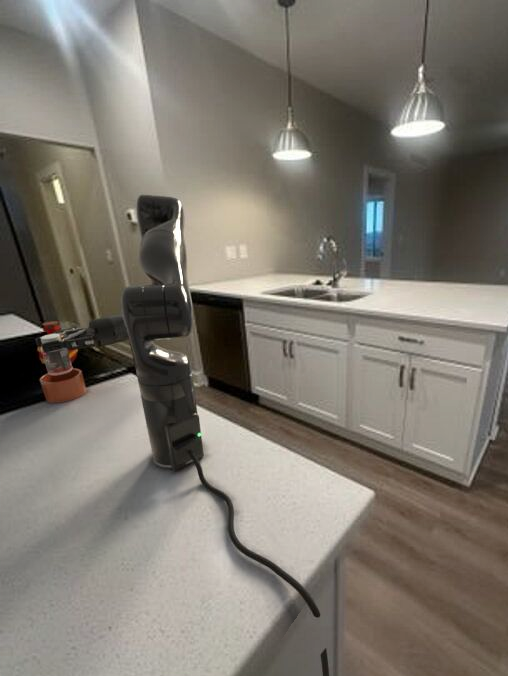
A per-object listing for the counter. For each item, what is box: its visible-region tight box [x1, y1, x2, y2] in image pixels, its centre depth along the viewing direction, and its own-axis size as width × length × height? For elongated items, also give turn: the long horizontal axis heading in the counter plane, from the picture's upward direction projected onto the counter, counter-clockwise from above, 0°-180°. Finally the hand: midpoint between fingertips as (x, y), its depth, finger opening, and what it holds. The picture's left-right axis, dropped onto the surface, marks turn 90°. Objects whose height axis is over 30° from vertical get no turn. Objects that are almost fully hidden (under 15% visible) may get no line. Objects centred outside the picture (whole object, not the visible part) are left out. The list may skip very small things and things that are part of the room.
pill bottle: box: [40, 334, 73, 375], centre depth 87 cm, size 5×5×10 cm
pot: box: [39, 367, 87, 403], centre depth 91 cm, size 9×9×6 cm
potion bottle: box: [36, 320, 79, 368], centre depth 104 cm, size 10×10×15 cm
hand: (40, 345), depth 84 cm, fingers closed on pill bottle, 5 cm apart
